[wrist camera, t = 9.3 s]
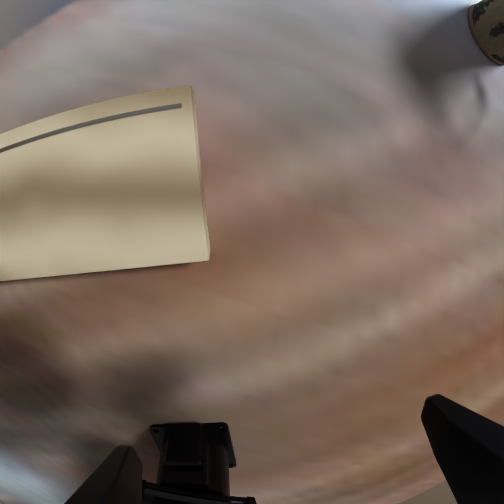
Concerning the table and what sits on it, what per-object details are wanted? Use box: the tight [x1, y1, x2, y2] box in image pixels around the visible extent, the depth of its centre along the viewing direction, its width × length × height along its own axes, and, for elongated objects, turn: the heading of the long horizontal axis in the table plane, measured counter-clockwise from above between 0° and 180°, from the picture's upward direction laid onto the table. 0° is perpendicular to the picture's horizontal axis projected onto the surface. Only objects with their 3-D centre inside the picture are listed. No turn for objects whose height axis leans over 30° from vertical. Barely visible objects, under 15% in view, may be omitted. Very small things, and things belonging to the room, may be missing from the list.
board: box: [0, 85, 210, 281], centre depth 16 cm, size 9×24×2 cm, turn 95°
